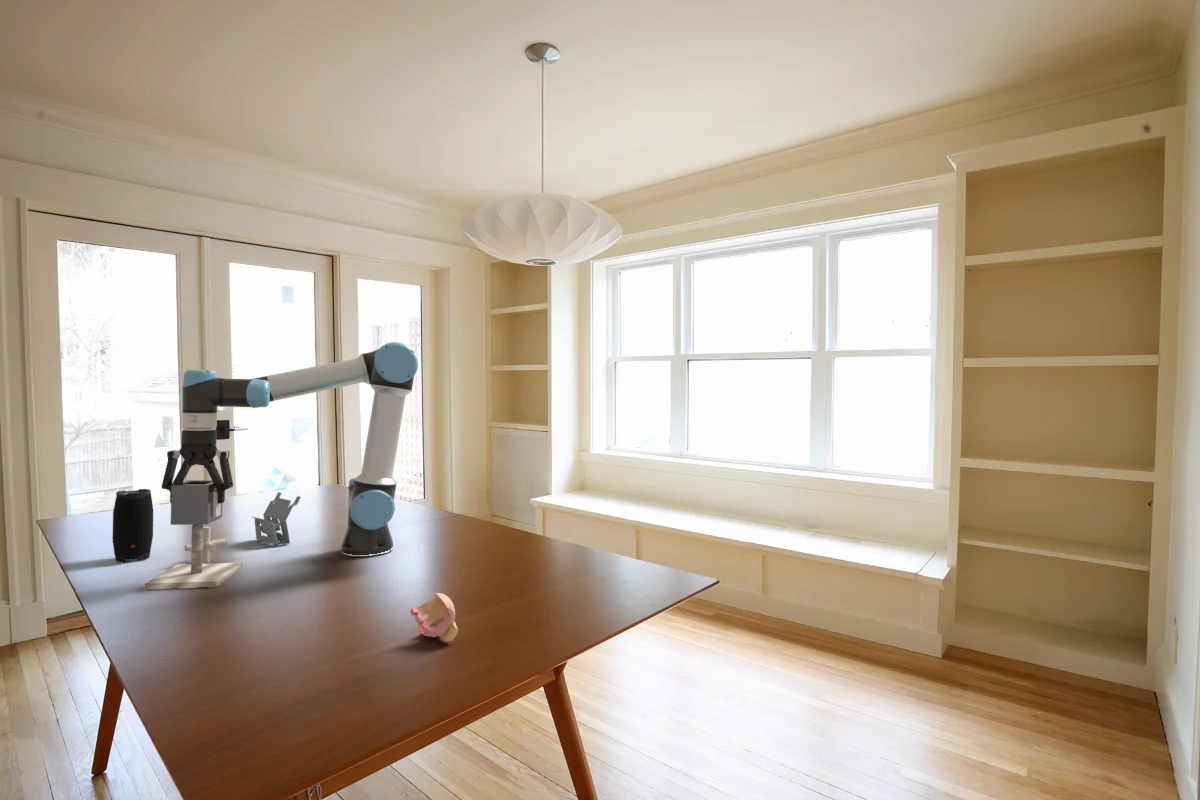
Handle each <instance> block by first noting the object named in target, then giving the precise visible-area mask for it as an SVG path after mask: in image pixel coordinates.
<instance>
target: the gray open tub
mask: <svg viewBox="0 0 1200 800" xmlns="http://www.w3.org/2000/svg"><path fill="white" fill-rule="evenodd" d="M222 481H223V479H222ZM216 490H217V489H216V487H215V485H214V483H213V481H212V479H210V480H208V479H206V480H205V479H204V480H203V479H201V480H200V479H188V480H185V481H183V482H181V483H177V484H174V485H172V487H171V503H170V525H171V526H180V525H181V526H182V525H184V526H185V525H186V526H189V525H191V526H192V525H199V524H203V525H209V524H211V523H213V522H215V521H217V520H219V519H222V518H223V503H221V515H219V516H217V517H213V492H215V491H216Z"/></svg>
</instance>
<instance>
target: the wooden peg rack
mask: <svg viewBox="0 0 1200 800" xmlns="http://www.w3.org/2000/svg"><path fill="white" fill-rule="evenodd" d="M227 544H228V539H227V538H226V537H225V538H220V539H213V540H211V526H208V525H206V526H203V553H202V564H208V563H210V561H211V551H212V552H213V551H216V550H217V547H219V546H225V545H227ZM191 547H192V543H188V544H184V551H185V552H190V551H191ZM207 562H208V563H207Z"/></svg>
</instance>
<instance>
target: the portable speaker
mask: <svg viewBox="0 0 1200 800" xmlns="http://www.w3.org/2000/svg"><path fill="white" fill-rule="evenodd" d="M115 496H116V497H115V500H114V506H113V511H112V547H113V553H114V557H115V559H114V560H115V562H116V561H117V562H116V563H122V562H123V563H126V561H127V560H135V559H137V561H139V562H140V561H143V560H147V559H149V558H150V556H151V555H150V554H151V550H152V545H153V539H154V507H153V506H154V505H153V498H152V492H151V489H148V488H141V489H140V488H139V489H138V490H118V491H117V492H116V493H115Z"/></svg>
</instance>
